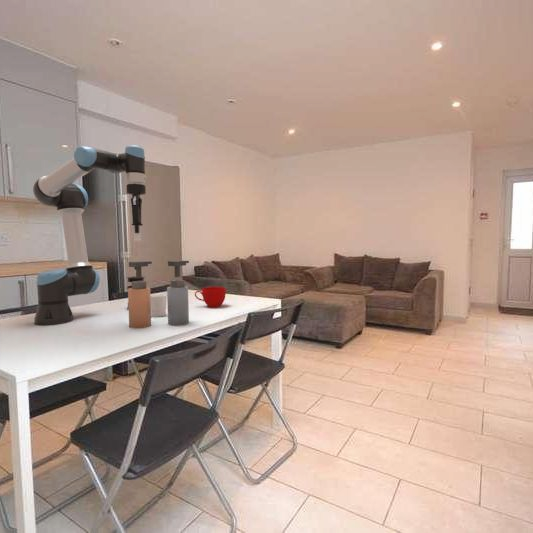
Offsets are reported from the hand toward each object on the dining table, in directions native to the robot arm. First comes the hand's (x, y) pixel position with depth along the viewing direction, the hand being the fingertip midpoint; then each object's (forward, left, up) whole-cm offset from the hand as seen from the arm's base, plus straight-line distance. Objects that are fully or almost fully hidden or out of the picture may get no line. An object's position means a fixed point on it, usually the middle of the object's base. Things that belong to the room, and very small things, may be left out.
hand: (137, 240), depth 151 cm
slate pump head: (+14, -11, -16) cm, 24 cm away
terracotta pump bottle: (0, 0, -36) cm, 36 cm away
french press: (+24, +34, -37) cm, 55 cm away
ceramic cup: (+49, +4, -37) cm, 61 cm away
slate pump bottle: (+12, -11, -36) cm, 40 cm away
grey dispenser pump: (+2, 0, -16) cm, 16 cm away
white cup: (+18, +10, -37) cm, 42 cm away
